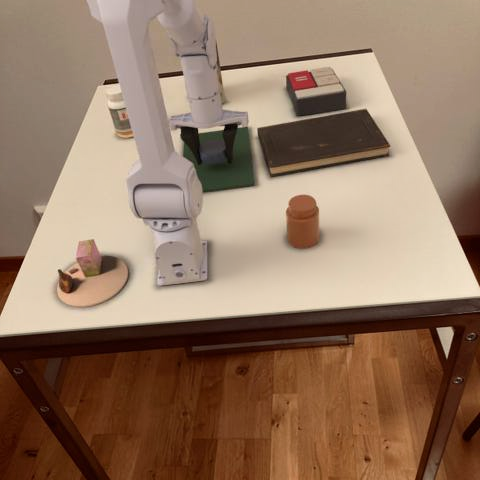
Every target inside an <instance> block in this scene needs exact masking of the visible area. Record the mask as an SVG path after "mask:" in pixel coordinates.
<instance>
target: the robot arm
mask: <svg viewBox="0 0 480 480" xmlns="http://www.w3.org/2000/svg"><path fill="white" fill-rule="evenodd" d="M86 2H87V6H88V8H89V11H90V15H91V17H92V18H93V19H94V20H96V21H98V22H100V23H101V24H102V26H103V30H104V32H105V33H104V34H105V37H106V40H107V44H108V48H109V51H110V52H109V53H110V56H111V58H112V63H113V66H114V69H115V73H116V78H117V82H118V85H120V88H121V92H122V96H123V99H124V103H125V107H126V110H127V114H128V118H129V121H130V125H131V129H132V132H133V136H132V137H133V139H134V143H135V146H136V150H137V154H138V160H137V161H135V162H134V163H133V164H132V166H131V167H130V168H129V170H128V172H127V175H126V177H125V183H126V187H127V198H128V199H127V200H128V206H129V209H130V211H131V213H132V214H133V215H134V216H135V217H134V218H136V219H139V220H142V221H143V224H144V226H147V227H149V229H150V233H151V236H152V238H153V241H154V259H155V262H156V264H157V265H156V266H157V268H158V269H157V278H156V284H157V286H160V287H161V286H168V285H170V286H171V285H176V284H177V285H178V284H186V283H187V284H188V283H194V282H203V281H207V279H208V241H207V240H202V238H201V232H200V229H199V225H198V220H197V219H198V217H199V216H200V215H201V213H202V211H203V204H204V192H203V191H202V185H201V182H200V181H199V179H198V177H197V173H196V170H195V168H194V164H193V163H192V162H190V161H189V160H187V159H186V158H184V157H183V155H181V154H180V153H178V152H177V151H176V149H175V145H174V142H173V136H172V131H177V129H180V135H179V137H180V140H181V141H182V142H183V144H184V143H185V144H186V145H187V146H188V147H189V149H190V150H191V152H192V153H193V155H194V157H195V159H196V161H197V163H198V165H201V164H202V160H201V159H200V155H199V147H200V140H199V133H200V132H199V129H202V130H203V129H212V128H217V127H223V129H222V130H223V133H222V136H223V139H224V142H225V147H226V153H227V161H228V164H230V163H232V160H233V145H234V139H235V136H236V133H237V129H238V128H239V126H241V127H249V120H250V119H249V113H248V111H237V110H231V109H223V105H222V104H223V103H221V96H220V90H219V83H218V77H217V70H216V62H217V52H216V42H217V33H216V25H215V22H214V20H213V19H212V18H211V17H210V18H209V17H208V15H206V14H202V12H201V10H200V9H199V7H198V6H197V4H196V3H195V1H194V0H86ZM155 18H157V21H158V22H159V23H160V26H161V27H163V29H164V30H165V31H166V32H167V34H168V39H169V42H170V45H171V49H172V52H173V54H174V56H176V57H177V58H178V57H180V58H179V59H180V64H181V69H182V70H181V71H182V74H183V79H184V85H185V89H186V94H187V100H188V104H189V108H190V109H189V110H190V112H187V113H181V114H176V115H170V117H168V113H167V110H166V104H165V99H164V95H163V91H162V87H161V81H160V77H159V73H158V68H157V67H158V66H157V63H156V59H155V54H154V49H153V45H152V40H151V36H150V31H149V30H150V29H149V27H150V23H151V21H152V20H154V19H155Z"/></svg>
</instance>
